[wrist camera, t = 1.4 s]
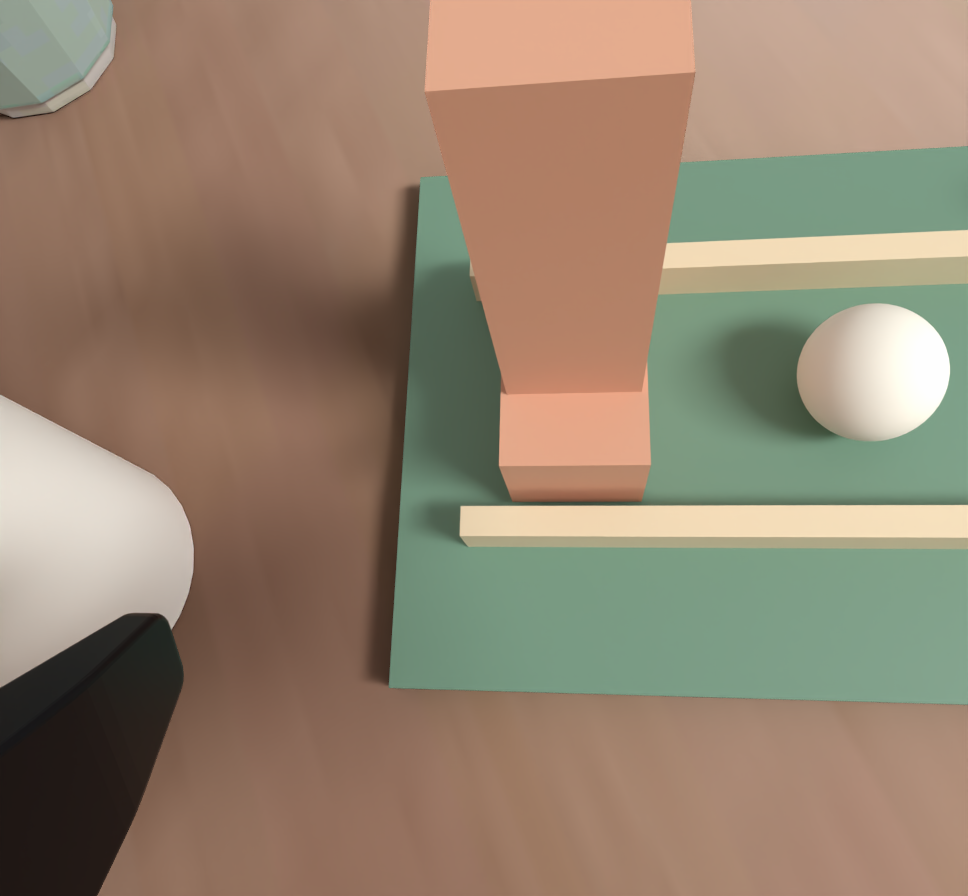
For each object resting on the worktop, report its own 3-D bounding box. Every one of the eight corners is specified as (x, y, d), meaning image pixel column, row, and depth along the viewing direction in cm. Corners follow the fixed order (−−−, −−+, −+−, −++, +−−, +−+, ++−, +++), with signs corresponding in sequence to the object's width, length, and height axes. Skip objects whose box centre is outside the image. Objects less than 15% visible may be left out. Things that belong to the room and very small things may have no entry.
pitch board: (1690, 725, 18) (1843, 729, 16) (395, 688, 22) (373, 686, 20) (1448, 136, 23) (1539, 76, 21) (425, 192, 27) (411, 146, 24)
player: (641, 501, 21) (718, 205, 9) (512, 501, 22) (403, 220, 9) (634, 302, 23) (690, -186, 10) (516, 306, 24) (429, -157, 11)
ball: (850, 483, 21) (899, 443, 18) (756, 392, 22) (785, 338, 19) (945, 403, 21) (1010, 349, 18) (847, 316, 22) (891, 250, 19)
